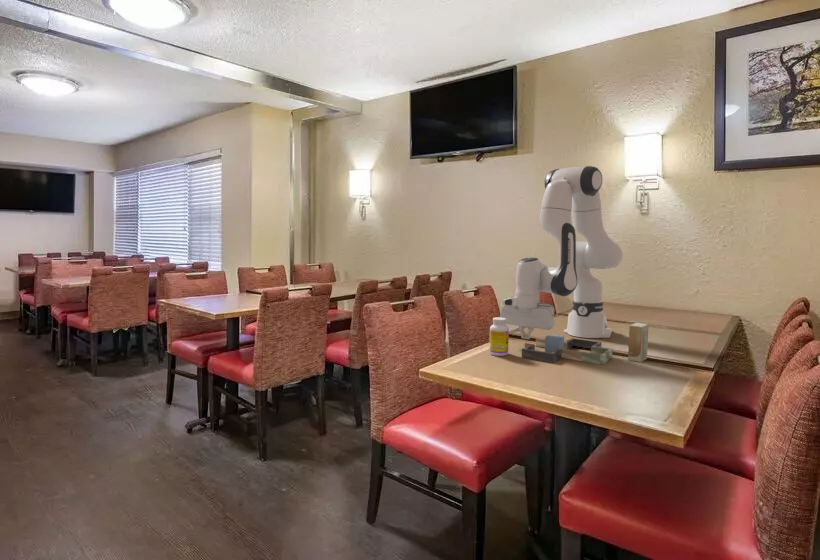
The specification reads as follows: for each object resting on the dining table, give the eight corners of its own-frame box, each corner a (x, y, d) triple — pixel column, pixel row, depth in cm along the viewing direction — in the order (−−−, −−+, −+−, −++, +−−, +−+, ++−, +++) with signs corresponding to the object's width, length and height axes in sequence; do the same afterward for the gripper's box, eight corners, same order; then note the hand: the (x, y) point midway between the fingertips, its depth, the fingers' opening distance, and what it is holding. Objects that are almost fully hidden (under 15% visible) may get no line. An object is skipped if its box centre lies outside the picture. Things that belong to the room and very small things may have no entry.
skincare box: (634, 356, 168) (636, 322, 166) (647, 359, 164) (649, 323, 163) (627, 360, 163) (628, 324, 162) (640, 362, 160) (642, 326, 159)
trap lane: (544, 341, 189) (545, 334, 189) (618, 352, 173) (618, 344, 172) (514, 356, 168) (515, 347, 168) (595, 370, 151) (596, 361, 151)
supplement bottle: (508, 356, 167) (509, 320, 166) (489, 355, 169) (489, 319, 167) (508, 352, 174) (509, 317, 172) (489, 351, 175) (490, 316, 174)
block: (550, 350, 177) (550, 334, 176) (563, 352, 174) (564, 336, 173) (545, 353, 173) (545, 336, 172) (558, 355, 170) (559, 338, 169)
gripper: (557, 303, 174) (556, 340, 175) (505, 298, 186) (504, 333, 187) (551, 305, 169) (549, 344, 170) (498, 300, 181) (497, 336, 182)
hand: (525, 338), depth 179 cm, fingers closed
